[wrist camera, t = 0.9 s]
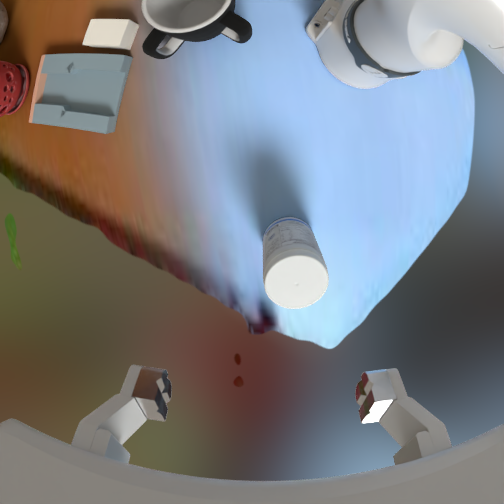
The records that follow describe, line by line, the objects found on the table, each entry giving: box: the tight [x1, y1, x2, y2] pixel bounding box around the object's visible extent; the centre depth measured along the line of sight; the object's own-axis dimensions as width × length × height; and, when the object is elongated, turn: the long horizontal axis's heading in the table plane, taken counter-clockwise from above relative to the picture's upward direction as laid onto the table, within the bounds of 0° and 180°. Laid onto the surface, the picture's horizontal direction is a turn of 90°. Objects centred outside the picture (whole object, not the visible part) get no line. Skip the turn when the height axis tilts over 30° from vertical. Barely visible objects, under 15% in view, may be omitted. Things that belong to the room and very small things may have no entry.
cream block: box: [82, 19, 139, 50], centre depth 33 cm, size 5×8×4 cm, turn 71°
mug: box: [142, 0, 252, 59], centre depth 29 cm, size 16×16×12 cm
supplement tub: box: [263, 217, 329, 309], centre depth 46 cm, size 10×10×15 cm
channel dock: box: [29, 53, 133, 134], centre depth 38 cm, size 14×20×3 cm
